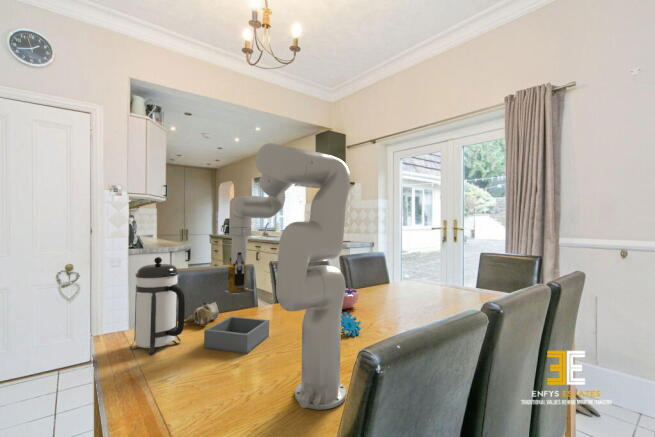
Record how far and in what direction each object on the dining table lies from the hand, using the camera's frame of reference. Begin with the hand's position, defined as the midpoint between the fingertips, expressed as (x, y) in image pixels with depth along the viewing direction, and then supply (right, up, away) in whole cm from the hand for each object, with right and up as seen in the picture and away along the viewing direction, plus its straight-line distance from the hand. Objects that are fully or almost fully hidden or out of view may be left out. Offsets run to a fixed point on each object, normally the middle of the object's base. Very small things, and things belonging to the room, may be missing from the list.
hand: (239, 283), depth 107 cm
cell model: (+38, -22, +45) cm, 64 cm away
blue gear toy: (+40, -22, +9) cm, 46 cm away
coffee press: (-25, -20, -5) cm, 33 cm away
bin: (0, -21, 0) cm, 21 cm away
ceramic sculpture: (-20, -21, +19) cm, 35 cm away
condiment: (0, -3, 0) cm, 3 cm away
